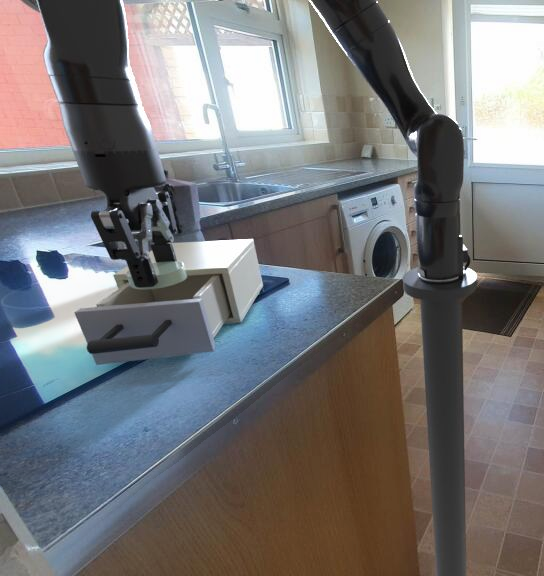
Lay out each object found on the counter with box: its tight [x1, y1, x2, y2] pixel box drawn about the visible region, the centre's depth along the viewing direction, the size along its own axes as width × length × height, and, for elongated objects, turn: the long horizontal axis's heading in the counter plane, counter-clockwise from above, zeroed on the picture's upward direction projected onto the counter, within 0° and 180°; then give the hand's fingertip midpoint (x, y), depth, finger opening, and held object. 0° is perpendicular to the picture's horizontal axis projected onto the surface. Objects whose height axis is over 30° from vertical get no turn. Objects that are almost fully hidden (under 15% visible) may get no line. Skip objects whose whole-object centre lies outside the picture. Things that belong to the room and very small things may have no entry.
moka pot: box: [154, 169, 206, 243], centre depth 81 cm, size 10×15×20 cm, turn 44°
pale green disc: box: [126, 261, 187, 290], centre depth 55 cm, size 6×6×2 cm
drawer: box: [73, 273, 232, 366], centre depth 55 cm, size 20×13×7 cm, turn 18°
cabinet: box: [112, 238, 264, 325], centre depth 68 cm, size 16×14×9 cm
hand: (158, 276), depth 55 cm, fingers closed on pale green disc, 6 cm apart
